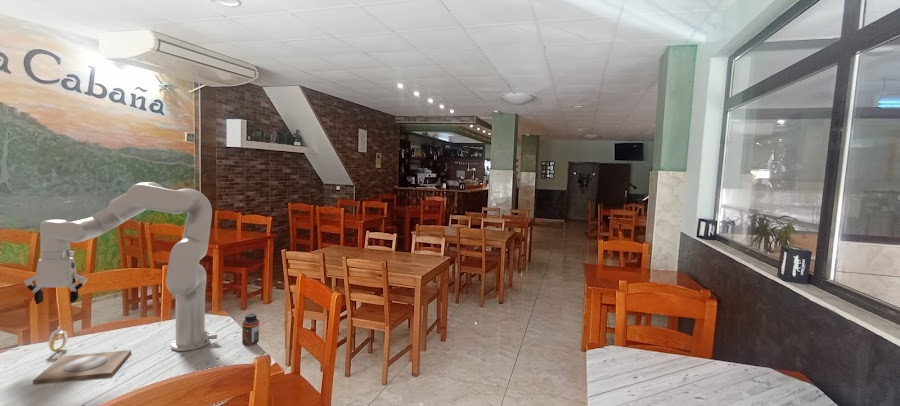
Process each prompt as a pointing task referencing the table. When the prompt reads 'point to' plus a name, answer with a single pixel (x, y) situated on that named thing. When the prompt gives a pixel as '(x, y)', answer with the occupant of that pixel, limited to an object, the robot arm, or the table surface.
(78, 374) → the walnut board
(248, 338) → the supplement bottle
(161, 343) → the table surface
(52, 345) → the bracelet
